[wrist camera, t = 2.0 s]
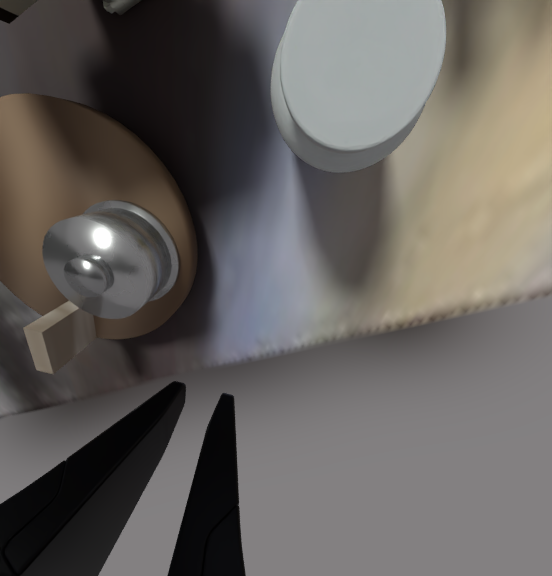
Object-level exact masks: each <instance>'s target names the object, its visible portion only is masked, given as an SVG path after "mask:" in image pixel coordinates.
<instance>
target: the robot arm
mask: <svg viewBox="0 0 552 576" xmlns="http://www.w3.org/2000/svg"><path fill="white" fill-rule="evenodd" d="M185 396H186V385H185V384H184V383H181V382H176V381H174V382H172V383H170V384H169V385H168V386H166V387H165V388H163V389H162V390H161V391H159V392H158V393H156V394H155V395H154V396H152V397H151V398H150V399H148V400H147V401H145V402H144V403H143V404H141V405H140V406H138V407H137V408H136V409H134V410H133V411H132V412H130V413H129V414H127V415H126V416H125V417H124V418H122V419H121V420H120V421H118V422H117V423H115V424H114V425H112V426H111V427H110V428H108V429H107V430H106V431H104V432H103V433H101V434H100V435H99V436H97V437H96V438H94V439H93V440H92V441H90V442H89V443H88V444H86V445H85V446H83V447H82V448H81V449H79V450H78V451H77V452H75V453H74V454H72V455H71V456H70V457H68V458H67V460H66V461H63V462H61V463H60V464H58V465H57V466H56V467H54V468H53V469H52V470H50V471H49V472H48V473H46V474H45V475H43V476H42V477H40V478H39V479H38V480H36V481H35V482H33V483H32V484H30V485H29V486H27V487H26V488H24V489H23V490H21V491H20V492H19V493H17V494H15V495H14V496H12V497H11V498H9V499H7V500H6V501H4V502H3V503H1V504H0V576H98V575H99V573H100V571H101V569H102V567H103V566H104V564H105V562H106V560H107V558H108V556H109V554H110V553H111V551H112V549H113V547H114V545H115V543H116V541H117V540H118V538H119V536H120V534H121V532H122V530H123V529H124V527H125V525H126V523H127V521H128V519H129V517H130V515H131V514H132V512H133V510H134V508H135V506H136V504H137V502H138V501H139V499H140V497H141V495H142V493H143V491H144V489H145V488H146V486H147V484H148V482H149V480H150V478H151V477H152V475H153V473H154V471H155V469H156V467H157V465H158V464H159V462H160V460H161V458H162V456H163V454H164V452H165V450H166V447H167V445H168V443H169V440H170V438H171V435H172V433H173V431H174V428H175V426H176V424H177V421H178V419H179V416H180V414H181V412H182V409H183V407H184V404H185ZM238 505H239V493H238V471H237V451H236V430H235V406H234V396H233V395H230V394H226V393H223V394H222V395H221V397H220V399H219V401H218V404H217V406H216V408H215V410H214V413H213V415H212V417H211V420H210V422H209V424H208V427H207V430H206V433H205V437H204V441H203V445H202V449H201V452H200V456H199V459H198V463H197V467H196V471H195V474H194V478H193V482H192V486H191V490H190V493H189V497H188V501H187V505H186V508H185V512H184V516H183V520H182V523H181V527H180V531H179V534H178V538H177V542H176V546H175V549H174V553H173V557H172V561H171V564H170V568H169V573H168V576H246V575H245V567H244V560H243V553H242V543H241V530H240V513H239V512H240V511H239V506H238Z"/></svg>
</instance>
